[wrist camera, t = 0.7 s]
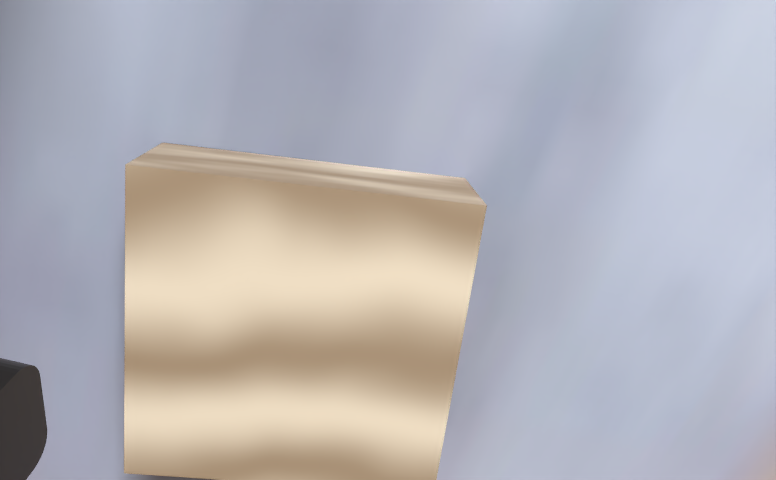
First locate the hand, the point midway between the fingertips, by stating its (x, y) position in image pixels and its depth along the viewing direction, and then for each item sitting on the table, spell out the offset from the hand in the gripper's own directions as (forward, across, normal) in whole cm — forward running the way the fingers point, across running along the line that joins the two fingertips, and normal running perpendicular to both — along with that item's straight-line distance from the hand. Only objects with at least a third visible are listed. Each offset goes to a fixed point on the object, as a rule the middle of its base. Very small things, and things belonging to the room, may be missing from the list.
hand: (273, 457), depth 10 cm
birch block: (+18, +3, +10) cm, 21 cm away
